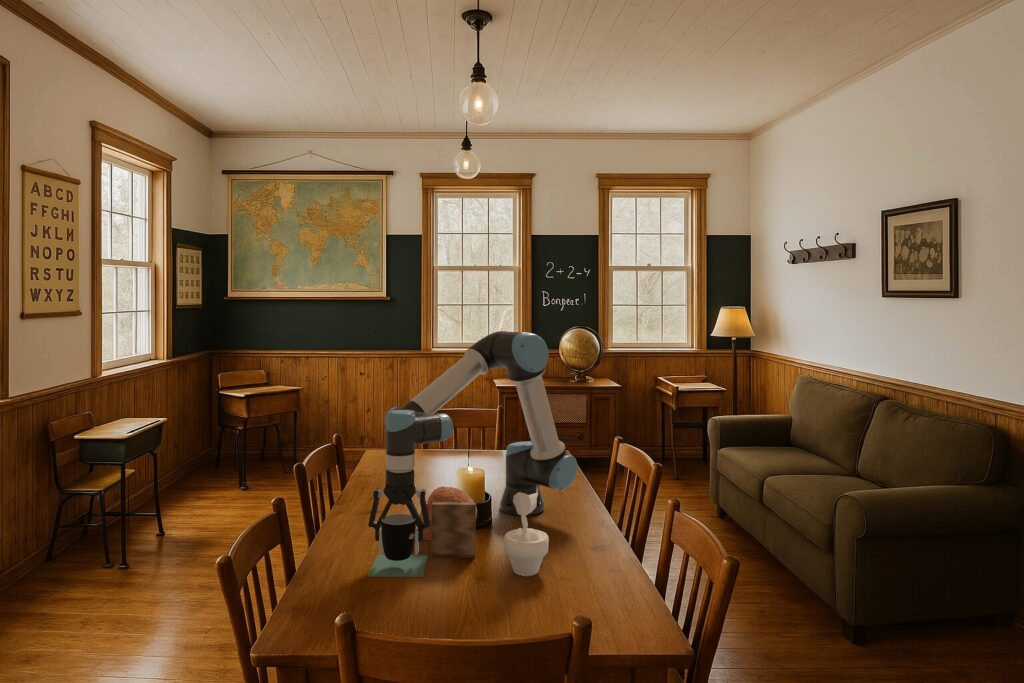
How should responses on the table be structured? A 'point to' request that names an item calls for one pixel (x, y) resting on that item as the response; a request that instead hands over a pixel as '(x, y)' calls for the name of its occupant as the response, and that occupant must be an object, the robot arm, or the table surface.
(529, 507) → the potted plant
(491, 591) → the table surface
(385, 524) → the mug
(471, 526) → the walnut board
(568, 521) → the table surface
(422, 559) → the felt pad
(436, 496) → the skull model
